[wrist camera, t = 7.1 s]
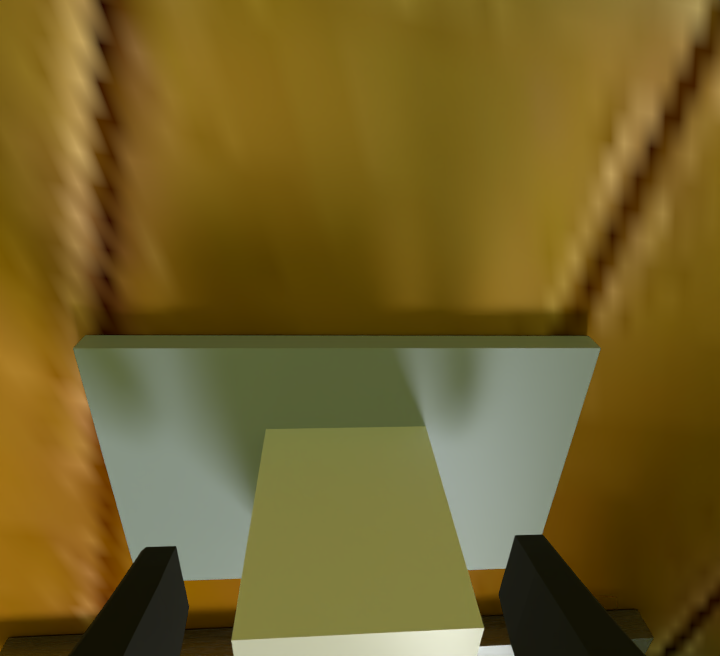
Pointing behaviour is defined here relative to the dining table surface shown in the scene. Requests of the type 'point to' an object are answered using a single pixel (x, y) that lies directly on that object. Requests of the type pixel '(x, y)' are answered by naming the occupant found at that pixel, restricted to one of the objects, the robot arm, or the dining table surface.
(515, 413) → the pad
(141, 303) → the dining table surface
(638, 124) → the dining table surface
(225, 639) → the grey slotted frame
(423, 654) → the peg
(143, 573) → the robot arm
